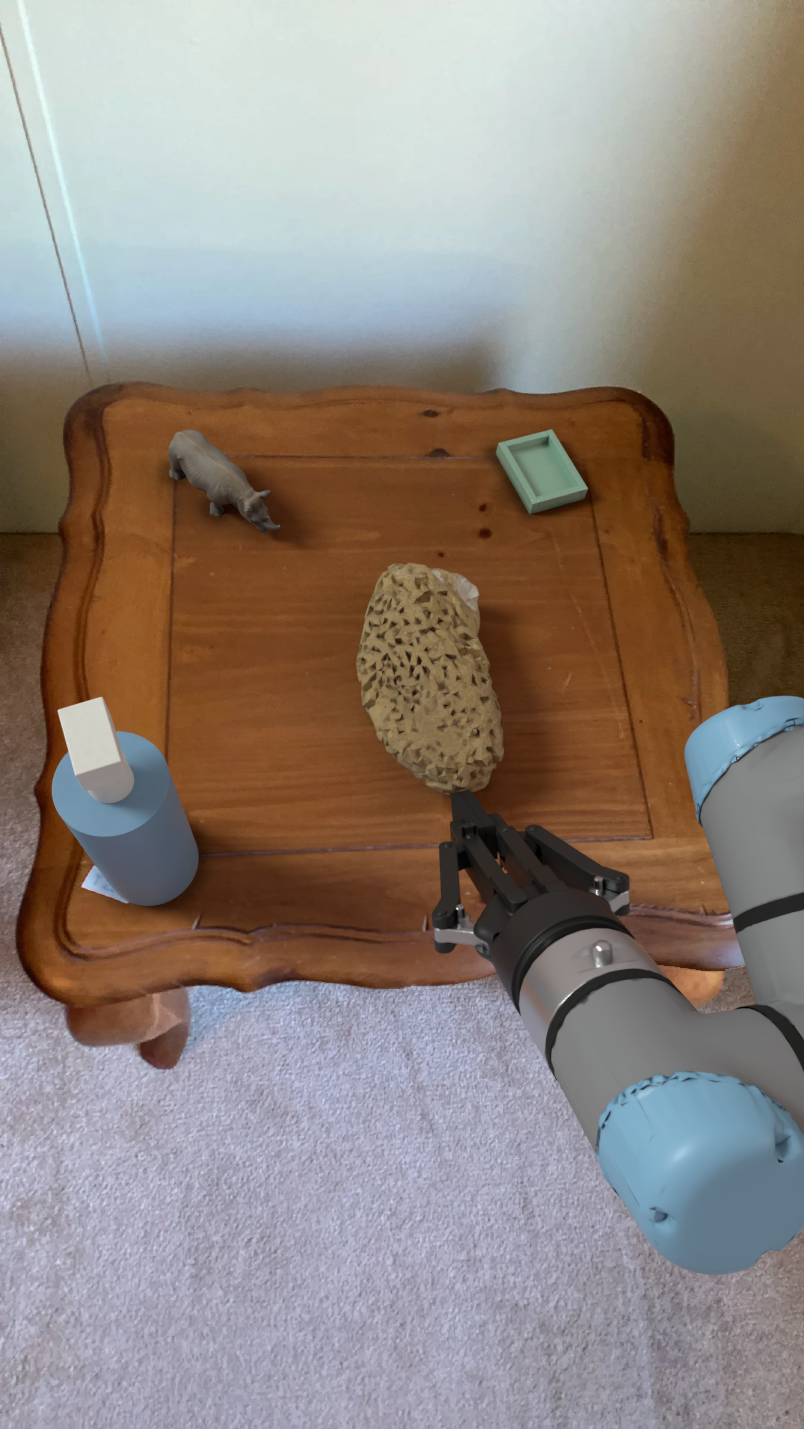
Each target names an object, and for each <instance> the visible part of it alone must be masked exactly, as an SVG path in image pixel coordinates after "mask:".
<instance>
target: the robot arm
mask: <svg viewBox="0 0 804 1429" xmlns="http://www.w3.org/2000/svg"><path fill="white" fill-rule="evenodd" d="M684 762H685V766H686V771H687V777H688V780H689V783H690V788H691V793H692V794H691V795H692V798H693V803H694V808H695V817H696V821H697V824H699V826H700V827H701V828H702V829H703V833H704V835H705V839H706V841H707V846H708V847H709V850H710V854H711V857H712V860H713V863H714V866H715V870H716V872H717V876H718V879H719V881H720V886H721V888H722V892H723V894H724V896H725V900H726V903H727V905H728V909H729V913H730V915H731V918H732V921H731V922H732V924H733V929H734V931H735V935H736V940H737V942H738V946H739V948H740V953H741V956H742V959H743V962H744V964H745V965H744V966H745V969H746V972H747V975H748V978H749V983H750V985H751V989H752V991H753V995H754V998H755V1002H756V1003H755V1004H749V1005H742V1006H738V1007H736V1008H733V1009H730V1010H724V1011H717V1012H709V1013H705V1012H701V1011H698V1009H697V1008H696V1007H695V1006H694V1005H693V1003H691V1001H690V999H688V998H687V997H686V996H685V994H684V993H682V991H681V990H680V989H679V988H678V987H677V986H676V985H675V984H674V983H673V982H672V980H671V979H670V978H669V977H668V976H667V975H666V973H665V972H664V971H663V969H662V968H661V967H660V966H659V964H657V962H655V960H654V959H653V958H652V957H651V955H650V954H648V952H647V951H646V950H645V948H643V946H642V945H641V944H640V942H638V941H637V940H636V938H635V936H634V935H633V934H632V932H631V931H630V930H629V928H628V927H626V925H625V924H624V922H622V920H621V919H620V918H619V917H625V916H628V915H630V913H631V887H630V886H631V884H630V882H631V881H630V878H631V877H630V875H629V874H627V873H626V872H623V871H619V870H616V869H613V868H610V867H607V866H604V865H602V864H600V863H599V862H597V861H595V860H594V859H592V858H591V857H589V856H587V855H586V854H585V853H583V852H581V851H580V850H579V849H577V848H575V847H574V846H572V845H571V844H569V843H567V842H566V841H564V840H563V839H561V838H560V837H558V836H557V835H555V834H553V833H552V832H551V831H549V830H548V829H546V828H544V827H543V826H541V825H538V824H529V825H527V826H525V827H524V828H525V829H524V831H523V830H522V831H521V830H520V831H519V830H517V829H516V828H515V827H514V826H512V825H509V824H508V823H507V822H506V821H505V819H504V818H503V817H502V815H501V814H499V813H497V812H492V813H488V812H487V811H486V810H485V808H484V807H483V806H482V805H481V803H480V802H479V800H478V798H476V796H475V795H474V794H473V792H472V793H471V791H470V790H466V791H460V792H455V793H450V795H451V796H450V805H451V817H452V820H451V821H450V822H449V833H450V840H446V841H442V842H440V843H439V845H438V858H439V879H440V899H439V901H438V902H437V904H436V905H435V907H434V908H433V910H432V912H431V922H432V923H431V924H432V932H433V943H434V950H435V952H436V953H438V954H450V953H452V952H453V951H455V948H456V947H457V945H465V946H474V949H475V952H476V953H477V954H478V955H479V956H480V957H481V958H483V959H484V960H486V961H488V962H490V963H491V964H492V965H493V968H494V970H495V972H496V974H497V977H498V978H499V980H500V982H501V984H502V986H503V987H504V989H505V991H506V993H507V995H508V997H509V998H510V1000H511V1002H512V1004H513V1006H514V1008H515V1010H516V1011H517V1013H518V1015H519V1016H520V1018H521V1020H522V1022H523V1025H524V1027H525V1029H526V1030H527V1032H528V1035H529V1036H530V1037H531V1040H532V1041H533V1043H534V1044H535V1046H536V1049H537V1050H538V1051H539V1053H540V1055H541V1056H542V1059H543V1060H544V1062H545V1064H546V1066H547V1067H548V1068H549V1070H550V1072H551V1074H552V1075H553V1077H554V1078H555V1080H556V1082H557V1083H558V1084H559V1087H560V1089H561V1090H562V1092H563V1094H564V1096H565V1098H566V1100H567V1102H568V1104H569V1105H570V1108H571V1109H572V1111H573V1113H574V1115H575V1118H576V1119H577V1121H578V1123H579V1125H580V1127H581V1129H582V1131H583V1133H584V1135H585V1137H586V1138H587V1140H588V1142H589V1144H590V1146H591V1148H592V1150H593V1151H594V1154H595V1160H596V1162H597V1163H598V1164H599V1167H600V1169H601V1173H602V1176H603V1178H604V1180H605V1181H606V1182H607V1184H608V1185H609V1186H610V1188H611V1189H612V1190H613V1192H614V1193H615V1194H616V1196H618V1197H619V1198H620V1199H621V1201H622V1203H623V1204H624V1205H625V1207H626V1209H627V1210H628V1212H629V1214H630V1215H631V1216H632V1218H633V1220H634V1221H635V1223H636V1224H637V1226H638V1227H639V1229H640V1231H641V1232H642V1234H643V1235H644V1237H645V1239H646V1240H647V1242H648V1243H649V1244H650V1245H651V1247H653V1249H654V1250H655V1251H656V1252H657V1253H658V1254H660V1256H662V1257H663V1258H664V1259H665V1260H667V1261H669V1262H670V1263H672V1264H673V1265H674V1266H676V1267H678V1268H681V1269H683V1270H685V1271H688V1272H692V1273H697V1274H702V1275H708V1276H721V1275H723V1276H724V1275H730V1274H735V1273H739V1272H742V1271H746V1270H749V1269H751V1268H753V1267H756V1264H757V1263H758V1261H759V1260H760V1258H761V1257H762V1256H763V1255H765V1254H767V1253H769V1252H781V1251H783V1250H784V1249H785V1248H786V1247H788V1246H789V1245H790V1244H791V1243H792V1242H793V1241H794V1240H795V1239H796V1238H797V1236H798V1235H799V1234H800V1233H801V1231H802V1230H803V1229H804V698H803V697H799V696H795V695H794V696H793V695H777V696H775V695H774V696H767V697H763V698H759V699H757V700H755V701H753V702H750V703H747V704H736V705H734V706H731V707H728V708H726V709H724V710H722V711H720V712H718V713H716V714H714V715H712V716H711V717H709V718H708V719H706V720H705V721H703V722H702V723H701V724H699V726H697V727H696V728H695V729H694V730H693V731H692V732H691V733H690V735H689V737H688V738H687V741H686V742H685V746H684ZM498 858H499V863H498V861H497V860H498ZM463 870H464V871H465V872H466V874H467V876H468V877H469V879H470V881H471V882H472V884H473V885H474V887H475V889H476V891H477V892H478V894H479V895H480V897H481V899H482V900H483V902H484V904H485V907H484V908H483V910H482V911H481V913H480V914H479V916H478V918H477V920H476V921H475V922H473V921H472V919H471V915H470V913H468V912H466V909H465V908H466V907H465V905H464V904H462V898H461V885H460V874H459V872H461V871H463ZM505 871H506V872H505Z"/></svg>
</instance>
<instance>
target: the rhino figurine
mask: <svg viewBox="0 0 804 1429" xmlns="http://www.w3.org/2000/svg"><path fill="white" fill-rule="evenodd" d="M167 457H168V459H169V467H170V469H169V472H168V475H169V476H168V477H169V478H170V479H173V480H176V481H180V480H182V478H183V477H184V476H185V477H186V479H187V481H188V483H189V484H190V485H191V486H192V487H193V488H194V489H197V490H199V491H203V492H205V493H206V497H207V499H208V500H209V501H210V504H209V515H211V516H215V517H217V518H219V517H222V515H223V513H224V512H225V509H224V507H223V506H224V505H229V504H231V505H232V507H234V508H236V509H238V512H239V514H240V515H241V516H242V517H243V518H244V519H245V521H247V522H248V523H250V524H252V525H253V526H254V527H255V528H256V529H257V530H258V531H259V532H260V533H263V534H266V533H269V532H270V531H271V532H272V531H274V532H276V531H279V530H280V529H281V525H280V524H275V522H273V520H272V519H271V517H270V513H269V508H268V507H267V506H266V504H264V501H263V499H266V498H267V497H268V496H269V494H270V493H271V490H270V489H265V490H262V491H256V490H255V489H254V488H253V486H251V484H250V483H249V481H248V477H247V474H246V473H245V472H244V470H243V469H241V468H240V467H239V466H238V465H237V464H236V463H235V462H232V461H231V459H230V458H229V457H228V456H227V454H226V453H225V452H223V450H221V449H219V448H218V447H217V446H215V445H214V444H212V443H211V442H210V441H209V440H208V439H207V437H206V436H205V435H204V434H203V433H202V432H200V431H198V430H194V429H185V430H181V431H176V432H175V434H174V436H173V438H172V439H171V441H170V443H169V445H168V449H167Z"/></svg>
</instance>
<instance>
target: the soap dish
mask: <svg viewBox="0 0 804 1429" xmlns="http://www.w3.org/2000/svg"><path fill="white" fill-rule="evenodd" d="M495 455H496V457H497V459H498V461H499V463H500V465H501V466H502V468H503V470H504V471H505V473H506V475H507V477H508V479H509V481H510V482H511V484H512V485H513V488H514V489H515V491H516V493H517V494H518V496H519V498H520V500H521V501H522V503H523V505H524V507H525V509H526V511H527V512H528V514H529V515H533V514H536V513H540V512H543V511H547V510H551V509H555V508H557V507H561V506H564V505H568V504H572V503H576V502H579V501H582V500H585V498H586V495H587V493H588V490H589V487H588V486H587V485H586V483H585V481H584V480H583V478H582V476H581V474H580V473H579V471H578V469H577V468H576V466H575V465H574V462H573V461H572V459H571V458H570V457H569V455H568V453H567V451H566V450H565V448H564V446H563V445H562V443H561V441H560V439H559V438H558V437H557V435H556V433H555V431H554V430H553V429H552V428H551V429H547V430H544V431H540V432H536V433H532V434H528V435H523V436H519V437H516V438H512V439H508V440H505V441H500V442H498V443H497V447H496V451H495Z"/></svg>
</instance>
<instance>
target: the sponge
mask: <svg viewBox="0 0 804 1429" xmlns="http://www.w3.org/2000/svg"><path fill="white" fill-rule="evenodd" d="M479 596H480V591H479V589H478V586H476V585H475V584H474V583H472V582H471V581H469V580H468V579H467V578H466V576H464V575H462V574H461V573H458V572H450V571H447V570H445V569H444V568H443V569H442V568H438V567H432V568H431V567H429V566H427V565H426V564H419V563H414V562H413V563H412V562H407V563H406V564H403V563H398V562H394V563H392V564H390V565H388V566H387V570H385V571H383V572H382V573H381V574H380V576H379V577H378V579H377V581H376V583H375V586H374V590H373V593H372V595H371V596H370V599H369V602H368V604H367V608H366V612H365V614H364V617H363V618H364V624H363V627H362V633H361V637H360V640H359V645H358V651H357V655H356V661H355V667H356V671H357V672H356V673H357V674H356V675H357V678H358V684H360V687H361V690H360V694H361V696H360V697H361V705H362V707H363V708H365V711H366V713H367V714H368V716H369V717H370V720H371V721H372V723H373V728H374V730H375V732H376V738H377V739H378V740H379V741H380V742H381V744H382V745H383V746H384V747H385V750H386V752H387V754H389V755H390V756H391V757H393V759H394V760H395V761H397V763H398V764H399V765H400V766H402V767H404V768H405V769H407V770H408V771H409V772H410V773H411V774H412V775H413V776H414V777H415V778H416V779H418V780H420V781H422V783H423V784H424V785H426V786H427V787H429V788H430V789H432V790H433V791H435V792H436V793H439V794H441V795H444V796H448V797H449V796H450V797H451V795H450V793H455V792H460V791H466V790H470V791H471V793H472V794H473V792H474V793H475V792H477V791H481V790H483V789H485V788H486V787H487V786H488V784H489V783H490V779H491V775H492V772H493V770H494V769H495V770H497V764H498V763H499V762H502V760H503V758H504V754H505V753H504V752H505V748H504V729H503V727H502V726H503V718H502V710H501V707H500V704H499V701H498V698H499V697H498V695H497V693H496V692H495V691H494V689H493V686H492V684H493V680H492V678H491V675H490V673H489V671H490V667H491V664H490V661H489V658H488V657H487V653H486V652H485V649H484V646H483V645H482V643H481V641H480V639H479V636H478V634H479V632H480V628H481V612H480V610H479V603H478V600H479Z"/></svg>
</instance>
